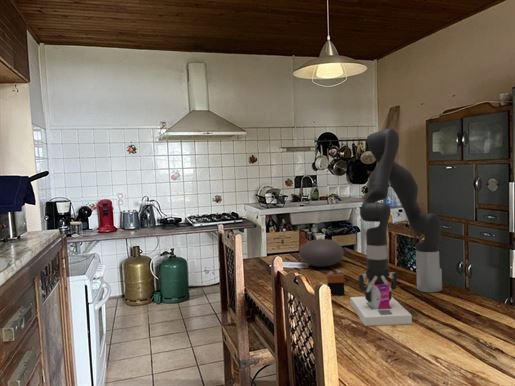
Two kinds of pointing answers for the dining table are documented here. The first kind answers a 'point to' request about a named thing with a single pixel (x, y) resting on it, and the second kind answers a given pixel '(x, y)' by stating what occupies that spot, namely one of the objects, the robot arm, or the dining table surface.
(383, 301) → the supplement box
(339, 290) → the battery
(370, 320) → the light grey flat block
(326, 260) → the smooth stone
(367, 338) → the dining table surface
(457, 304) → the dining table surface
